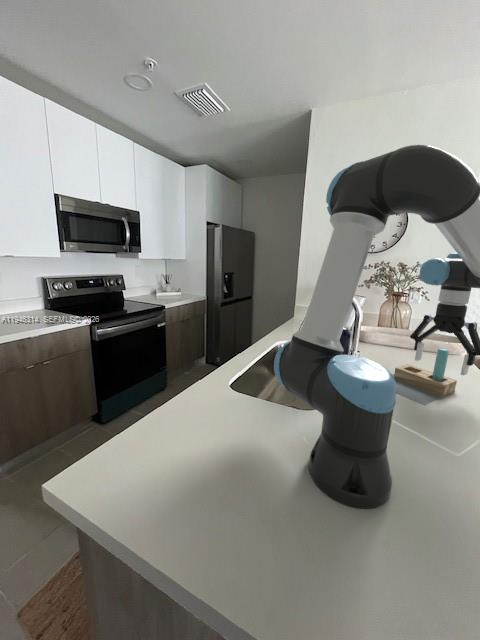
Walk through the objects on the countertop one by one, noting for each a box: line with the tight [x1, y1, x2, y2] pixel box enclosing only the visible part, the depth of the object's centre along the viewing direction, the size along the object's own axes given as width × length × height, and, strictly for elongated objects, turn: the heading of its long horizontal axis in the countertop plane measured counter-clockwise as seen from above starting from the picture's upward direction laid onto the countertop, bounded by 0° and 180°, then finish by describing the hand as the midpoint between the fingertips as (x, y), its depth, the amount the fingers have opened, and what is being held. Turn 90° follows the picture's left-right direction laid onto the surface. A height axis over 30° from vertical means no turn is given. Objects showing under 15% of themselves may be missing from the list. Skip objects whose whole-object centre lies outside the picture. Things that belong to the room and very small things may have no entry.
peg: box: [432, 348, 450, 382], centre depth 91 cm, size 3×3×14 cm
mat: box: [392, 373, 452, 406], centre depth 94 cm, size 20×18×1 cm
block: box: [393, 363, 458, 398], centre depth 95 cm, size 8×16×4 cm, turn 30°
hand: (439, 366), depth 90 cm, fingers open, 13 cm apart
